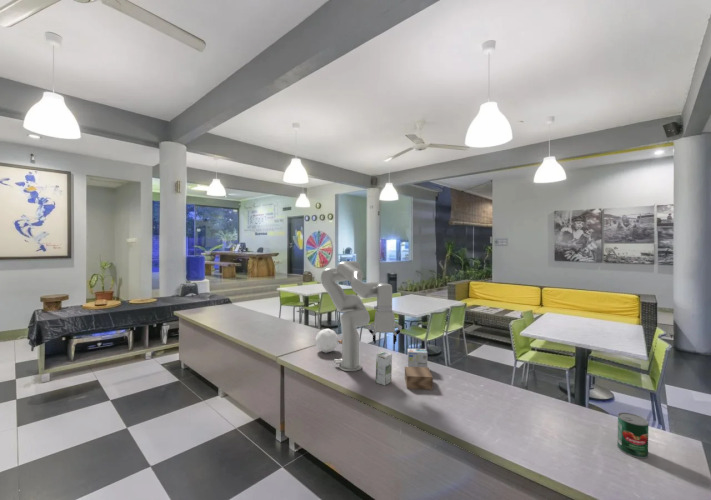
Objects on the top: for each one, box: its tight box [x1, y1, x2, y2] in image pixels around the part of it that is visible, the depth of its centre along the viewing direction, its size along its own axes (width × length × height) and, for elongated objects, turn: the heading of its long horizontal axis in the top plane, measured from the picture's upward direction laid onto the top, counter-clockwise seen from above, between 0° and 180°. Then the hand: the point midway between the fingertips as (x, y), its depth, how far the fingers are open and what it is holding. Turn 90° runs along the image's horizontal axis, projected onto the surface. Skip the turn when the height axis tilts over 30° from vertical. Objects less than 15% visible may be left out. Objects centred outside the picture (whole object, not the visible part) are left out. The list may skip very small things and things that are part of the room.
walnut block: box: [404, 366, 434, 390], centre depth 159 cm, size 12×12×6 cm
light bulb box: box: [407, 348, 428, 367], centre depth 177 cm, size 11×7×11 cm, turn 84°
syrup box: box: [375, 351, 393, 386], centre depth 160 cm, size 6×6×14 cm
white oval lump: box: [314, 328, 342, 354], centre depth 206 cm, size 14×15×20 cm
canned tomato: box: [616, 411, 650, 459], centre depth 108 cm, size 8×8×11 cm
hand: (384, 343), depth 160 cm, fingers open, 9 cm apart
